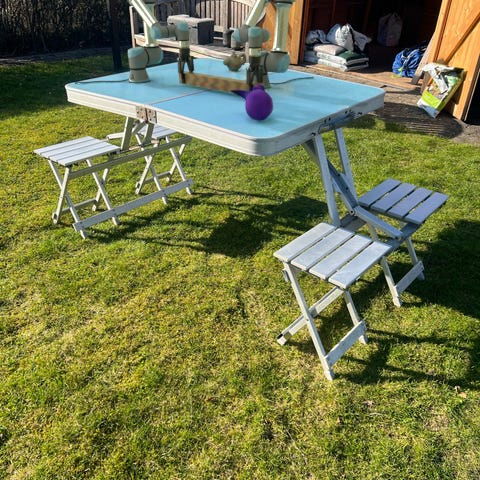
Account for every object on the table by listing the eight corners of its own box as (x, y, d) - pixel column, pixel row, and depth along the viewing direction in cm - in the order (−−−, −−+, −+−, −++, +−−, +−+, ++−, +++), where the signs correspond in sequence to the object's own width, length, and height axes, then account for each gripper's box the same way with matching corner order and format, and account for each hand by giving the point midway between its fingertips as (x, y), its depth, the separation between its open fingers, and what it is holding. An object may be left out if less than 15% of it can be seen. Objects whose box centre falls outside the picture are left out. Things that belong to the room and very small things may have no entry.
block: (179, 83, 321) (178, 72, 317) (185, 81, 324) (184, 70, 321) (258, 97, 277) (258, 85, 273) (264, 96, 280) (264, 83, 277)
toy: (255, 109, 260) (272, 127, 239) (226, 104, 252) (242, 122, 232) (262, 81, 252) (281, 97, 231) (233, 76, 244) (251, 92, 224)
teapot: (226, 73, 360) (226, 53, 352) (220, 71, 368) (219, 51, 361) (249, 70, 369) (249, 50, 361) (242, 68, 377) (242, 49, 370)
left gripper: (177, 49, 299) (180, 85, 311) (198, 46, 311) (200, 81, 323) (170, 48, 304) (173, 84, 315) (191, 45, 316) (193, 79, 327)
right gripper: (249, 58, 262) (249, 98, 273) (269, 54, 273) (268, 93, 285) (239, 57, 266) (240, 96, 278) (260, 53, 278) (259, 91, 290)
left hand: (187, 82), depth 319 cm, fingers closed on block, 6 cm apart
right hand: (254, 94), depth 281 cm, fingers closed on block, 6 cm apart
